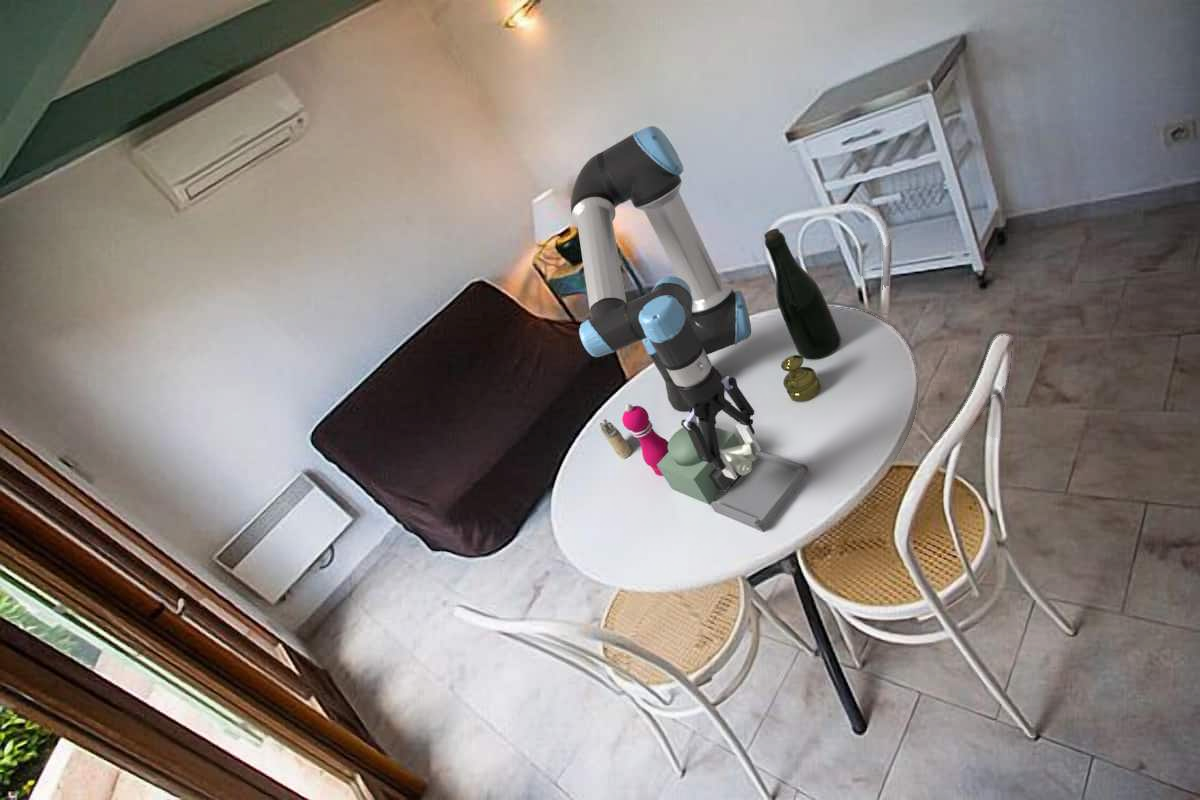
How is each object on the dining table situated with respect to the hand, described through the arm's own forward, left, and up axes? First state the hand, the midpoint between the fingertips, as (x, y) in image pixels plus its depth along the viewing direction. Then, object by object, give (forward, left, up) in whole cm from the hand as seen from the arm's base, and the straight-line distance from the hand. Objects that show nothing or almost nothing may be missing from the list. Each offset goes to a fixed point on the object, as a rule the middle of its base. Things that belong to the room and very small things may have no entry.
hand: (742, 462), depth 127 cm
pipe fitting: (-1, -1, -1) cm, 1 cm away
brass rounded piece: (-9, +29, -9) cm, 32 cm away
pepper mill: (-28, -2, -9) cm, 29 cm away
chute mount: (0, 0, -9) cm, 9 cm away
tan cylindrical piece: (-45, -2, -9) cm, 46 cm away
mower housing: (-13, 0, -9) cm, 16 cm away
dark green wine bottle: (-15, +44, -9) cm, 47 cm away
